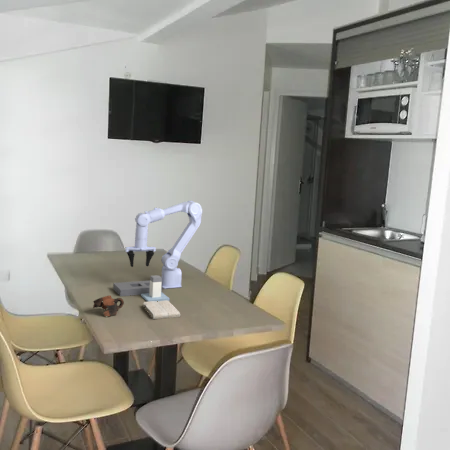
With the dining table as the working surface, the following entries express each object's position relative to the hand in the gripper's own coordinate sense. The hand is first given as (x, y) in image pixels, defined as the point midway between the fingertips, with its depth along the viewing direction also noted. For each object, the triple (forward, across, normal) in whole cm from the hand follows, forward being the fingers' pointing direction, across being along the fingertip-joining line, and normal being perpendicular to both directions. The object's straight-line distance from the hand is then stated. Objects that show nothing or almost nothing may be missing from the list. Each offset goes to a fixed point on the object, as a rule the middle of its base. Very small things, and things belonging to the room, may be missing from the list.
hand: (139, 266), depth 237 cm
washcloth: (+11, -2, -37) cm, 39 cm away
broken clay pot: (+11, -23, -32) cm, 41 cm away
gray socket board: (+10, -2, -6) cm, 12 cm away
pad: (+10, +2, -19) cm, 22 cm away
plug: (+9, +2, -19) cm, 21 cm away
